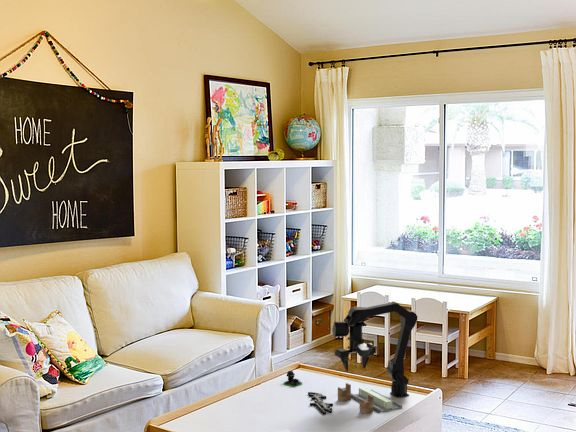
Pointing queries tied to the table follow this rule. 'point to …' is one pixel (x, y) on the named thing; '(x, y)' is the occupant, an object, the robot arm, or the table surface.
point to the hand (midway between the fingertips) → (355, 369)
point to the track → (376, 406)
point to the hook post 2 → (366, 405)
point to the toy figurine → (292, 380)
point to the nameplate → (320, 402)
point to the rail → (376, 397)
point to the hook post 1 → (344, 393)
